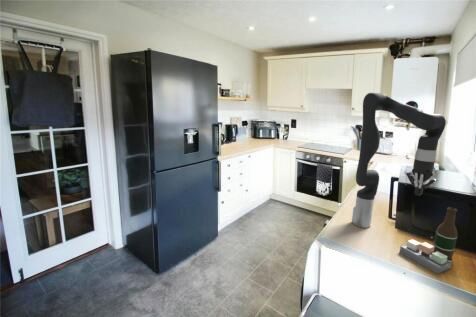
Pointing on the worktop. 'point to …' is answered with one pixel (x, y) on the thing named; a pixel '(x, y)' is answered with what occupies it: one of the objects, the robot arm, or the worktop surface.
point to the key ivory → (413, 245)
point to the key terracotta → (426, 248)
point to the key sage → (439, 257)
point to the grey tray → (425, 259)
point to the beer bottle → (446, 234)
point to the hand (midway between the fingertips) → (417, 195)
